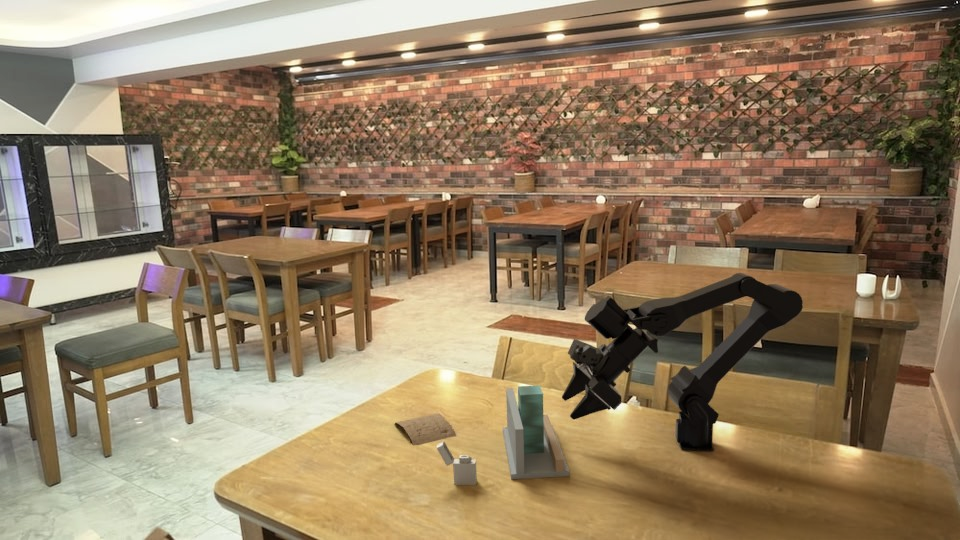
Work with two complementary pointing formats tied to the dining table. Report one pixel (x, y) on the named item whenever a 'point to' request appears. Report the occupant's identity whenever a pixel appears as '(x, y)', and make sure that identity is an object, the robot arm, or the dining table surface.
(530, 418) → the teal block
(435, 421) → the curved bark piece
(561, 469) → the grey bookend
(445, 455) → the lighter
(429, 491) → the dining table surface
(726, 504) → the dining table surface
